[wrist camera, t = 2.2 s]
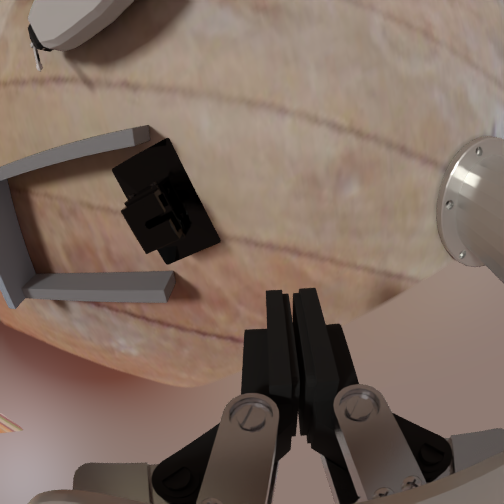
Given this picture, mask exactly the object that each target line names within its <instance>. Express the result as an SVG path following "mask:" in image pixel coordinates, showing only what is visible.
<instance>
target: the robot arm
mask: <svg viewBox="0 0 504 504" xmlns="http://www.w3.org/2000/svg"><path fill="white" fill-rule="evenodd" d="M437 226H438V231H439V235H440V238H441V241H442V243H443V245H444V247H445V248H446V250H447V251H448V252H449V253H450V254H451V255H452V256H453V257H454V258H455V259H456V260H457V261H458V262H459V263H462V264H464V265H466V266H471V267H478V266H484V265H486V266H487V267H488V268H489V269H490V270H491V271H492V272H493V273H494V274H495V275H496V276H497V277H498V278H499V279H500V280H501V281H502V282H503V283H504V140H503V139H501V138H497V137H492V136H485V137H479V138H477V139H474V140H472V141H471V142H469V143H468V144H466V145H465V146H464V147H463V148H462V149H461V150H460V151H459V152H458V153H457V154H456V155H455V157H454V158H453V160H452V161H451V163H450V164H449V166H448V168H447V170H446V173H445V175H444V177H443V180H442V183H441V186H440V190H439V195H438V201H437ZM266 307H267V329H251V330H245V333H244V349H243V367H242V387H241V395H239V396H237V397H235V398H233V399H232V400H231V401H230V402H229V403H228V404H227V405H226V407H225V409H224V411H223V414H222V418H221V421H220V423H219V424H218V425H216V426H215V427H213V428H212V429H210V430H209V431H208V432H206V433H205V434H203V435H202V436H200V437H199V438H197V439H196V440H194V441H193V442H192V443H190V444H189V445H187V446H185V447H184V448H182V449H181V450H179V451H178V452H176V453H175V454H173V455H172V456H170V457H169V458H167V459H165V460H164V461H162V462H161V463H160V464H156V465H155V464H154V465H149V464H147V463H85V464H83V465H82V466H80V467H79V468H78V469H77V470H76V472H75V475H74V478H73V490H52V491H47V492H43V493H40V494H38V495H36V496H35V497H34V498H33V499H31V500H30V502H29V503H28V504H272V503H273V497H274V491H275V485H276V478H277V472H278V465H279V460H280V459H281V458H282V457H283V456H284V455H285V454H286V453H287V452H289V451H290V449H291V437H292V436H296V427H297V416H298V415H299V425H300V434H301V436H302V435H307V443H311V448H312V449H314V450H315V451H317V452H318V453H320V455H321V460H322V463H323V467H324V470H325V473H326V476H327V480H328V483H329V486H330V489H331V492H332V495H333V499H334V502H335V504H504V429H502V428H499V429H498V428H496V429H491V430H485V431H479V432H473V433H466V434H459V435H452V436H451V437H450V438H445V439H444V438H443V437H441V436H440V435H437V434H435V433H433V432H431V431H428V430H426V429H424V428H422V427H420V426H418V425H416V424H414V423H412V422H410V421H408V420H406V419H404V418H402V417H399V416H398V415H396V414H394V413H392V412H391V410H390V408H389V406H388V404H387V402H386V400H385V399H384V397H383V395H382V394H381V393H380V392H379V391H378V390H376V389H375V388H373V387H371V386H368V385H363V384H359V382H358V379H357V376H356V372H355V369H354V366H353V362H352V359H351V355H350V352H349V349H348V346H347V342H346V339H345V336H344V333H343V330H342V327H341V325H340V324H330V325H326V324H325V321H324V317H323V313H322V310H321V306H320V302H319V299H318V295H317V291H316V288H304V289H299V293H293V323H292V315H291V308H290V301H289V295H288V294H282V290H269V291H266Z"/></svg>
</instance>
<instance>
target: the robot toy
mask: <svg viewBox="0 0 504 504" xmlns="http://www.w3.org/2000/svg"><path fill="white" fill-rule="evenodd" d="M133 1H134V0H34V2H33V4H32V7H31V10H30V13H29V16H28V20H29V22H30V25H29V27H28V31H29V35H30V39H31V41H32V42H31V44H30V45H31V48H33V50H34V55H35V59H36V64H37V65H36V67H37V70H39V71H40V72H41V70H42V68H43V67H42V64H41V63H40V58H39V54H38V50H37V49H39V50H44V51H52V50H59V51H67V50H71V49H74V48H76V47H78V46H79V45H81V44H83V43H84V42H86V41H87V40H89V39H90V38H92V37H93V36H94V35H96V34H97V33H98V32H100V31H101V30H102V29H104V28H105V27H106V26H108V25H109V24H111V23H112V22H114V20H115V19H116V18H117V17H118V16H119V15H120V14H121V13H122V12H123V11H124V10H125V9H126V8H127V7H128V6H129V5H130V4H131V3H132V2H133Z"/></svg>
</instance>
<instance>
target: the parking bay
mask: <svg viewBox="0 0 504 504" xmlns="http://www.w3.org/2000/svg"><path fill="white" fill-rule="evenodd" d="M147 141H150V135H149V127H148V125H146V126H140V127H135V128H130V129H126V130H121V131H116V132H112V133H108V134H103V135H99V136H95V137H91V138H87V139H84V140H80V141H76V142H73V143H69V144H66V145H62V146H59V147H56V148H52V149H49V150H46V151H43V152H40V153H37V154H34V155H31V156H28V157H25V158H23V159H20V160H17V161H14V162H12V163H9V164H6V165H4V166H1V167H0V290H1V292H2V294H3V296H4V298H5V300H6V303H7V305H8V307H9V308H12V309H16V308H17V307H18V306H19V305H20V303H21V302H22V301H23V300H24V299H25V298H33V299H50V300H70V301H97V302H148V303H167V301H168V299H169V297H170V294H171V292H172V290H173V288H174V285H175V283H176V281H175V277H174V272H173V271H151V272H112V273H57V274H36V273H35V270H34V267H33V265H32V262H31V259H30V257H29V254H28V251H27V248H26V245H25V242H24V239H23V236H22V233H21V230H20V226H19V223H18V220H17V216H16V213H15V209H14V205H13V201H12V197H11V193H10V189H9V185H8V180H7V178H10V177H13V176H16V175H19V174H22V173H25V172H29V171H32V170H35V169H38V168H42V167H45V166H49V165H52V164H56V163H60V162H63V161H67V160H71V159H75V158H79V157H83V156H88V155H92V154H96V153H101V152H106V151H110V150H115V149H120V148H126V147H131V146H136V145H138V144H141V143H144V142H147Z"/></svg>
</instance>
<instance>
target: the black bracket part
mask: <svg viewBox="0 0 504 504" xmlns="http://www.w3.org/2000/svg"><path fill="white" fill-rule="evenodd" d="M112 172H113V174H114V175H115V177H116V179H117V181H118V183H119V185H120V186H121V188H122V190H123V192H124V194H125V196H126V197H127V199H128V200H127V201H126V202H125V203H124V204H125V205H126V207H125V208H123V209H122V210H121V213H122V214H123V216H124V218H125V219H126V221H127V223H128V225H129V226H130V228H131V230H132V231H133V233H134V235H135V237H136V238H137V240H138V242H139V243H140V245H141V246H142V248H143V250H144V251H145V253H146V254H148V253H150V252H152V251H155V250H158V252H159V254H160V255H161V257H162V259H163V260H164V262H165V263H166V264H167V265H168V264H171V263H173V262H175V261H178V260H180V259H182V258H185V257H187V256H189V255H192V254H194V253H196V252H199V251H201V250H203V249H206V248H208V247H210V246H213V245H215V244H218V243H220V242H221V240H220V238H219V236H218V234H217V232H216V230H215V228H214V226H213V224H212V222H211V221H210V219H209V217H208V215H207V213H206V211H205V209H204V207H203V205H202V203H201V201H200V199H199V197H198V195H197V193H196V191H195V189H194V187H193V185H192V183H191V181H190V179H189V177H188V175H187V173H186V171H185V169H184V167H183V165H182V163H181V161H180V159H179V157H178V155H177V153H176V151H175V149H174V147H173V145H172V143H171V141H170V139H169V138H166V139H164V140H162V141H160V142H158V143H156V144H155V145H153V146H151V147H149V148H147V149H145V150H144V151H142V152H140V153H138V154H137V155H135V156H133V157H131V158H130V159H128V160H126V161H124V162H123V163H121V164H119V165H118V166H116V167H114V168H113V169H112Z"/></svg>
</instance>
